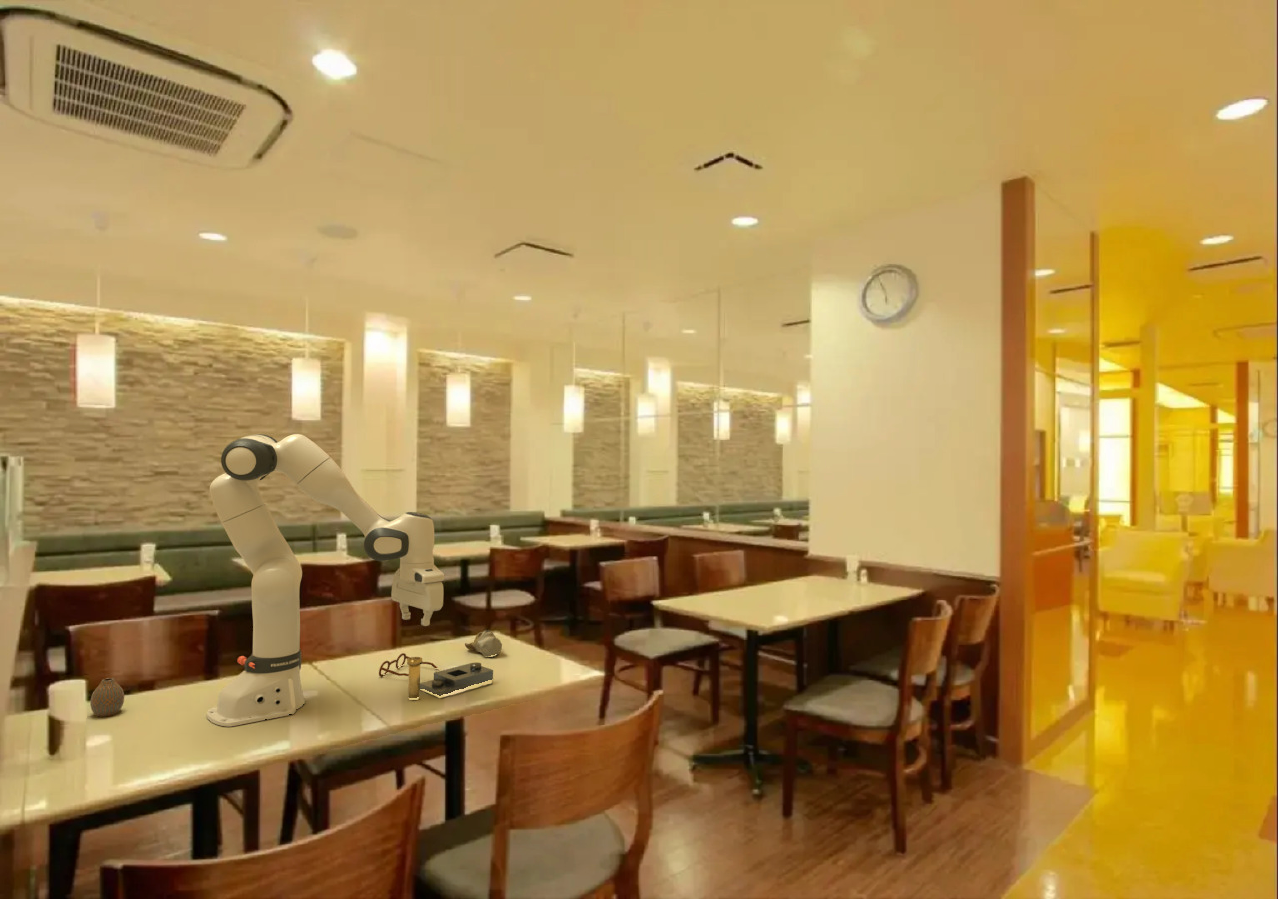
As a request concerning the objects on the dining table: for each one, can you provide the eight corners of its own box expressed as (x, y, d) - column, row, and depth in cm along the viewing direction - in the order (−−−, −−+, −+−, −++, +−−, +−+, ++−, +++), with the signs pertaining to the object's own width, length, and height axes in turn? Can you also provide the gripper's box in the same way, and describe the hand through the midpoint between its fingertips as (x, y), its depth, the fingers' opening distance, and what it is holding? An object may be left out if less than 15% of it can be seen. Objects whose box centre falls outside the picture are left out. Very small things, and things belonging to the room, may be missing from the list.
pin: (411, 702, 195) (412, 662, 195) (403, 699, 197) (404, 659, 197) (424, 699, 198) (425, 659, 198) (416, 695, 200) (417, 656, 200)
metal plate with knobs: (440, 699, 198) (440, 680, 198) (419, 690, 205) (420, 672, 205) (492, 683, 212) (493, 666, 212) (472, 676, 218) (472, 658, 218)
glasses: (403, 667, 227) (403, 651, 227) (440, 671, 224) (440, 655, 223) (377, 679, 214) (377, 663, 214) (416, 684, 211) (416, 667, 211)
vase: (84, 720, 178) (85, 684, 178) (97, 710, 184) (98, 675, 184) (117, 718, 180) (117, 682, 180) (128, 708, 186) (129, 674, 186)
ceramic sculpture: (479, 634, 233) (463, 626, 245) (479, 661, 233) (462, 652, 245) (510, 630, 239) (492, 623, 251) (509, 657, 238) (492, 648, 251)
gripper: (386, 568, 202) (385, 617, 202) (427, 578, 188) (426, 631, 189) (406, 565, 207) (405, 613, 207) (448, 575, 193) (446, 626, 193)
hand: (415, 622), depth 197 cm, fingers open, 8 cm apart
